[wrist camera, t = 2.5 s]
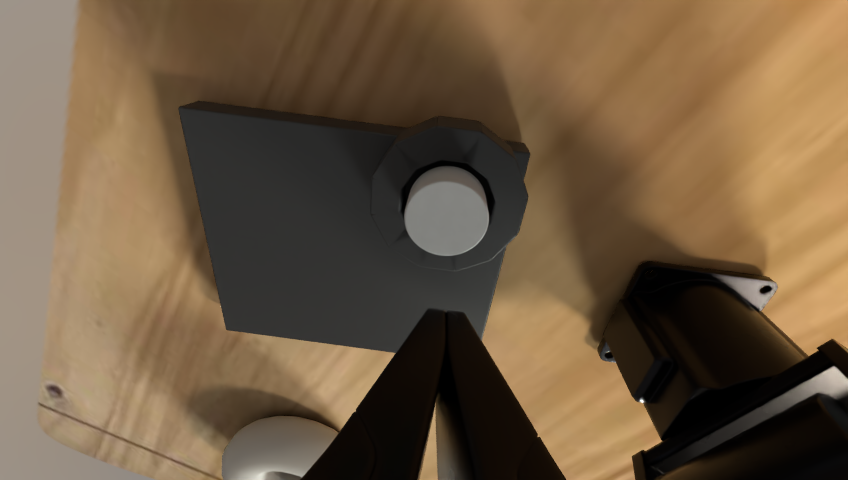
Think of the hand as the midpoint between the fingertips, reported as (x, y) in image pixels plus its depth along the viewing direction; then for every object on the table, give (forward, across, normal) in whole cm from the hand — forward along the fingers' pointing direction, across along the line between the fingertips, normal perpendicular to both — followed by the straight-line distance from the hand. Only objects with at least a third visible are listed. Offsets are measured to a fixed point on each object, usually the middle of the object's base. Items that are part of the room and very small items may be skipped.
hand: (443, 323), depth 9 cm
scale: (+9, +4, +4) cm, 11 cm away
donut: (+10, +8, +23) cm, 26 cm away
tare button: (+7, 0, 0) cm, 7 cm away
